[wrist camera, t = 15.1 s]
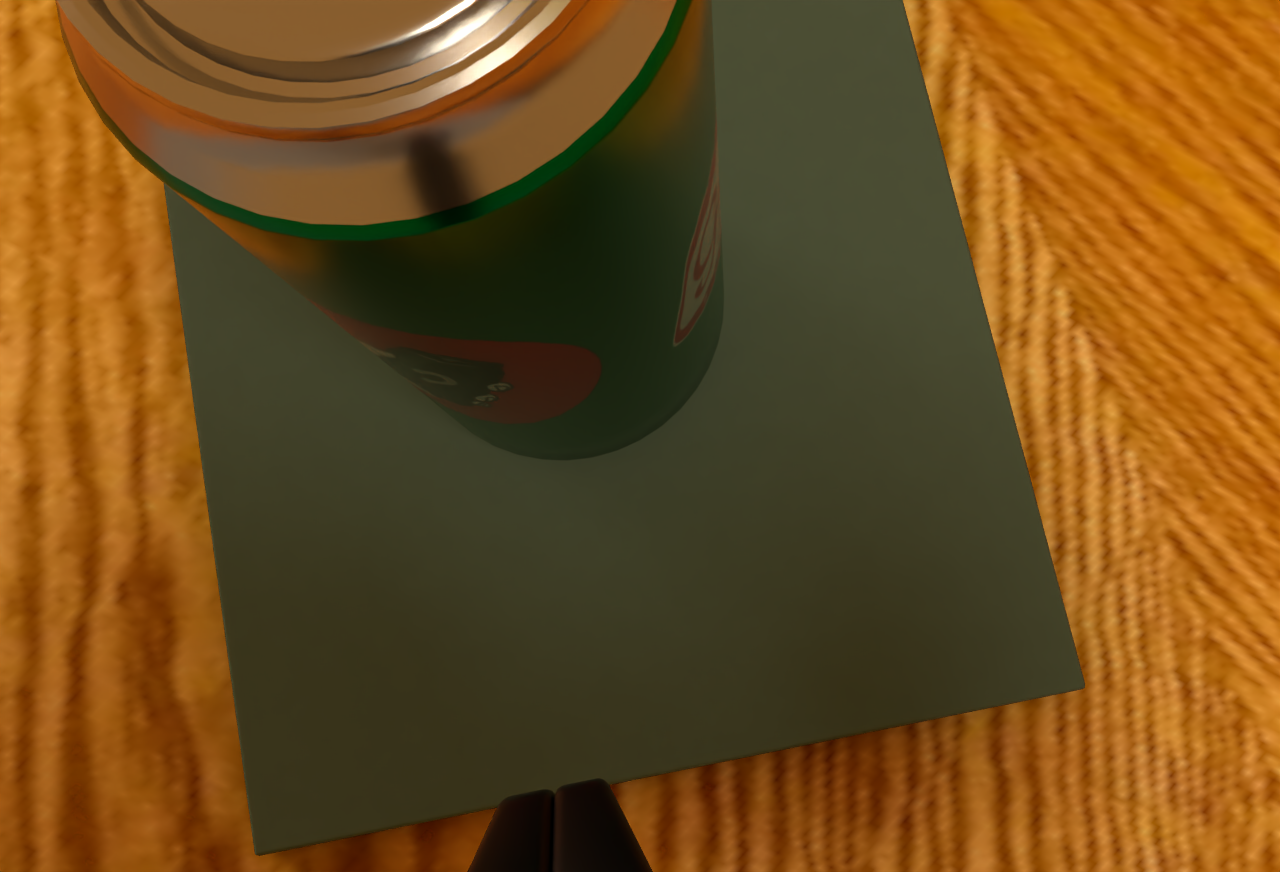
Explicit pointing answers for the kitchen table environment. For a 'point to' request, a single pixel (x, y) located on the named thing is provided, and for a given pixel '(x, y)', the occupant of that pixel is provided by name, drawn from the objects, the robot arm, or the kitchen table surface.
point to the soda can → (452, 185)
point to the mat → (638, 493)
